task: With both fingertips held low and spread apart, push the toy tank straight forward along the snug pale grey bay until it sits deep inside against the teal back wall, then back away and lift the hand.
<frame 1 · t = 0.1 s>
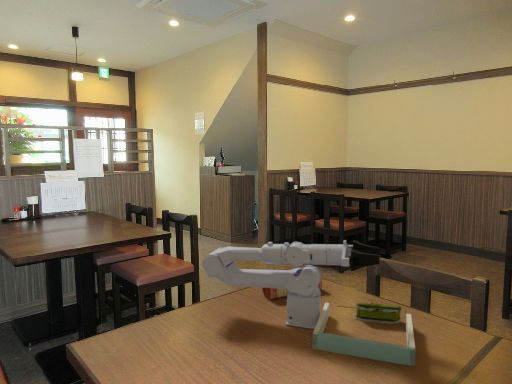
hand: (379, 255, 100), 22 cm above the table, tool horizontal, fingers open, 7 cm apart
toy tank: (366, 318, 112), on the table
snack package: (292, 293, 131), on the table
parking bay: (363, 337, 100), on the table
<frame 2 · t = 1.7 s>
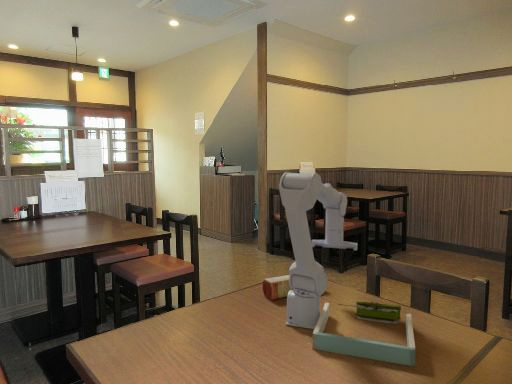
hand: (333, 269, 123), 10 cm above the table, tool pointing down, fingers open, 7 cm apart
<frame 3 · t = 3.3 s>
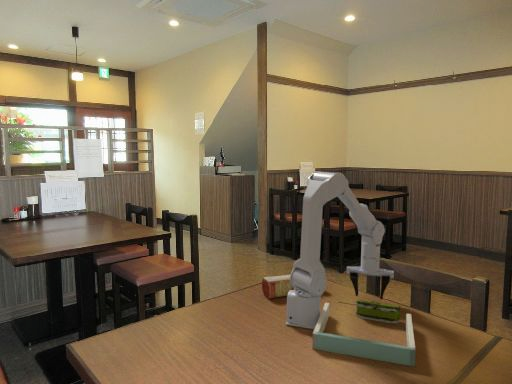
hand: (368, 296, 123), 2 cm above the table, tool pointing down, fingers open, 7 cm apart
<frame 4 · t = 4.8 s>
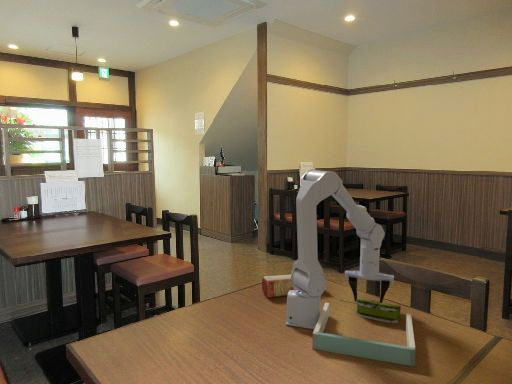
hand: (368, 302, 119), 2 cm above the table, tool pointing down, fingers open, 7 cm apart
toy tank: (367, 315, 113), on the table, touching gripper
everything else where it was.
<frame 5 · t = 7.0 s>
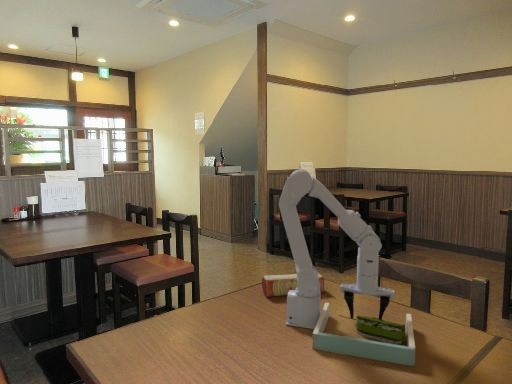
hand: (365, 319, 107), 2 cm above the table, tool pointing down, fingers open, 7 cm apart
toy tank: (369, 333, 102), on the table, touching gripper
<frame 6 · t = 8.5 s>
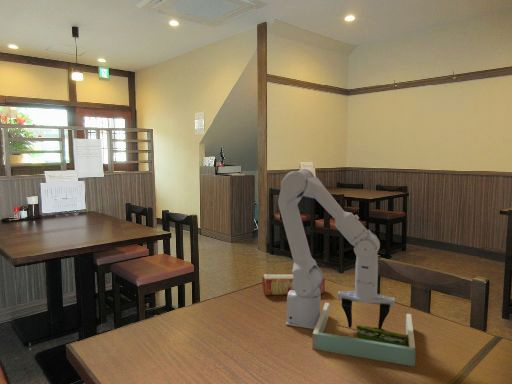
hand: (364, 328, 102), 2 cm above the table, tool pointing down, fingers open, 7 cm apart
toy tank: (369, 344, 97), on the table, touching gripper
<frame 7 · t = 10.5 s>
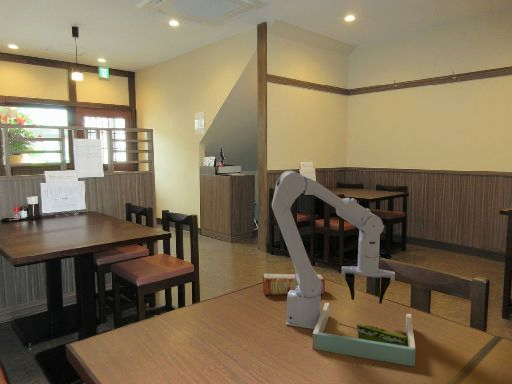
hand: (366, 300, 109), 6 cm above the table, tool pointing down, fingers open, 7 cm apart
toy tank: (370, 343, 97), on the table
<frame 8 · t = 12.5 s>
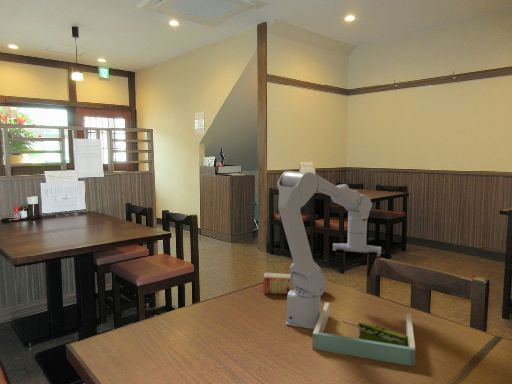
hand: (355, 274, 118), 10 cm above the table, tool pointing down, fingers open, 7 cm apart
at the end: toy tank inside the target area (2.2 cm from its centre), on the table; toy tank moved 13.6 cm from its start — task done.
